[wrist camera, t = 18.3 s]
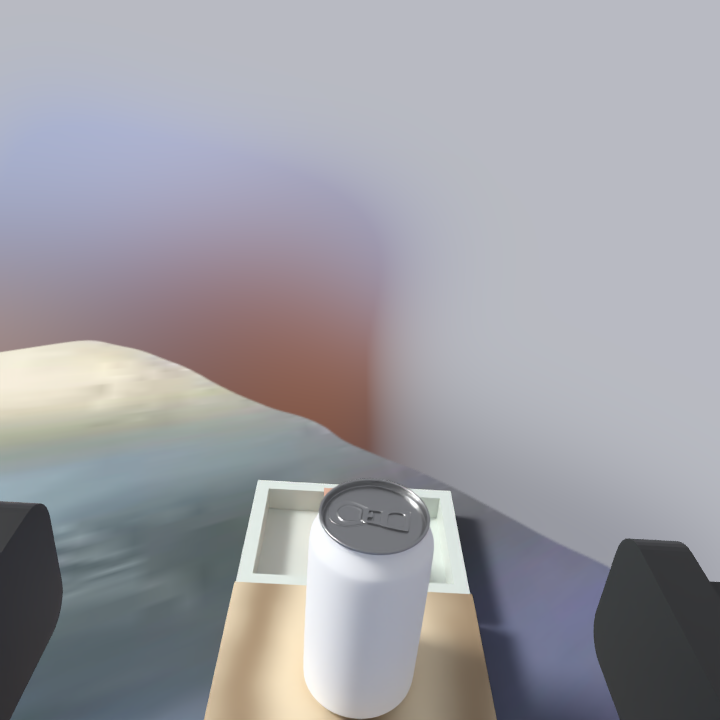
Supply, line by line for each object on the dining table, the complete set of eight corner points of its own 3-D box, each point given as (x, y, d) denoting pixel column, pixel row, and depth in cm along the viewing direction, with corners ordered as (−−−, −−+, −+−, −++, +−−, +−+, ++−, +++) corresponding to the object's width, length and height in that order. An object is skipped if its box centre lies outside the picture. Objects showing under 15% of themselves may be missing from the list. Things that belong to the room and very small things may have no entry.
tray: (235, 609, 46) (235, 583, 44) (258, 503, 55) (258, 480, 54) (465, 621, 46) (470, 595, 45) (446, 514, 56) (450, 491, 55)
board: (197, 796, 35) (194, 762, 33) (235, 613, 45) (234, 581, 44) (497, 809, 35) (507, 776, 34) (465, 625, 46) (472, 594, 44)
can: (313, 618, 42) (322, 465, 36) (415, 635, 41) (440, 482, 36) (290, 713, 36) (297, 548, 30) (408, 734, 35) (437, 569, 30)
